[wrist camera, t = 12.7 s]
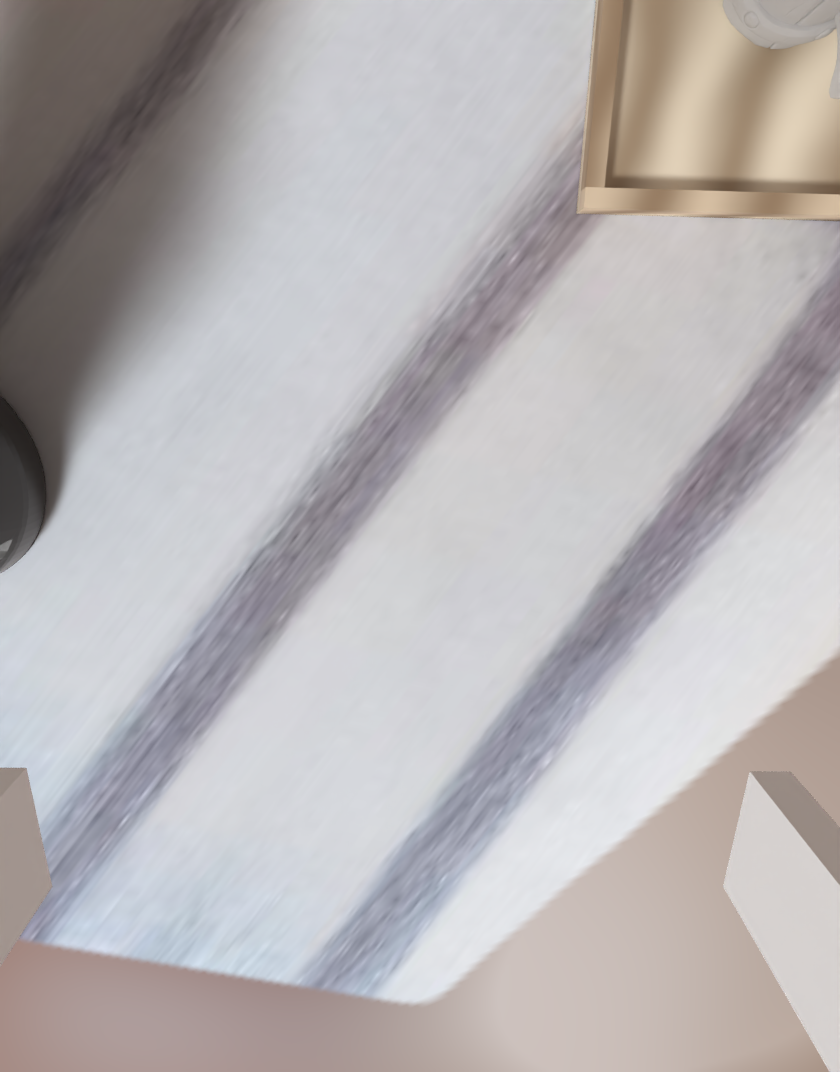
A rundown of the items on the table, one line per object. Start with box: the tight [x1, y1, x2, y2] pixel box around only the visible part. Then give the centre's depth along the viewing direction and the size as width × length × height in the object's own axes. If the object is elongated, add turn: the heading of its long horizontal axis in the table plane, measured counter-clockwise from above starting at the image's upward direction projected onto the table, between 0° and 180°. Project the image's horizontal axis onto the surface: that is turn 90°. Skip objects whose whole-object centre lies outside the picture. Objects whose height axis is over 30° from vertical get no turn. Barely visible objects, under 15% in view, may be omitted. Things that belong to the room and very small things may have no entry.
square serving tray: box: [576, 0, 840, 221], centre depth 30 cm, size 19×19×2 cm
